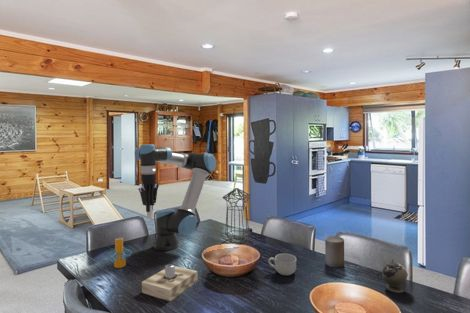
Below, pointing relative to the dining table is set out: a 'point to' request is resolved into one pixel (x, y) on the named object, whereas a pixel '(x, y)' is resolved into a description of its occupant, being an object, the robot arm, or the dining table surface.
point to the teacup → (284, 264)
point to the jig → (169, 283)
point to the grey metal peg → (170, 271)
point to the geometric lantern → (234, 213)
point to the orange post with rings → (119, 254)
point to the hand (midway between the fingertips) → (149, 217)
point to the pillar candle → (334, 251)
